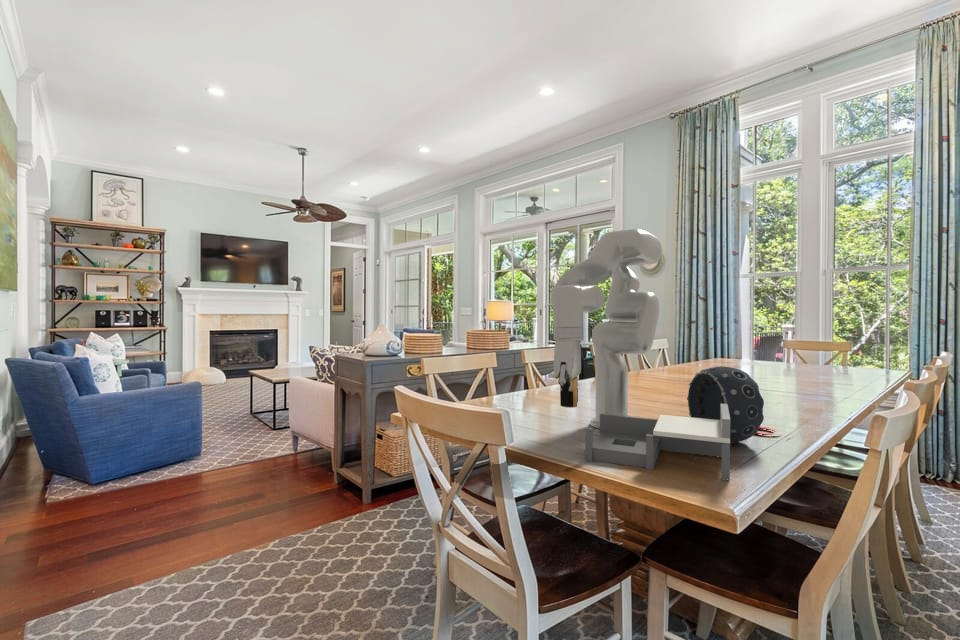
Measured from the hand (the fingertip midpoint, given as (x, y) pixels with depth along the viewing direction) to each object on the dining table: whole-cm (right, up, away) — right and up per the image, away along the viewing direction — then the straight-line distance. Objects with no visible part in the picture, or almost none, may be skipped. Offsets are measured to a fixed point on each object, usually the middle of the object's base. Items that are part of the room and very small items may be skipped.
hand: (569, 403), depth 121 cm
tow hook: (+57, -11, +13) cm, 60 cm away
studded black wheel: (+42, -11, +5) cm, 44 cm away
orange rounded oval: (0, -1, 0) cm, 1 cm away
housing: (+19, -11, -10) cm, 24 cm away
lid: (+26, -4, -13) cm, 29 cm away
